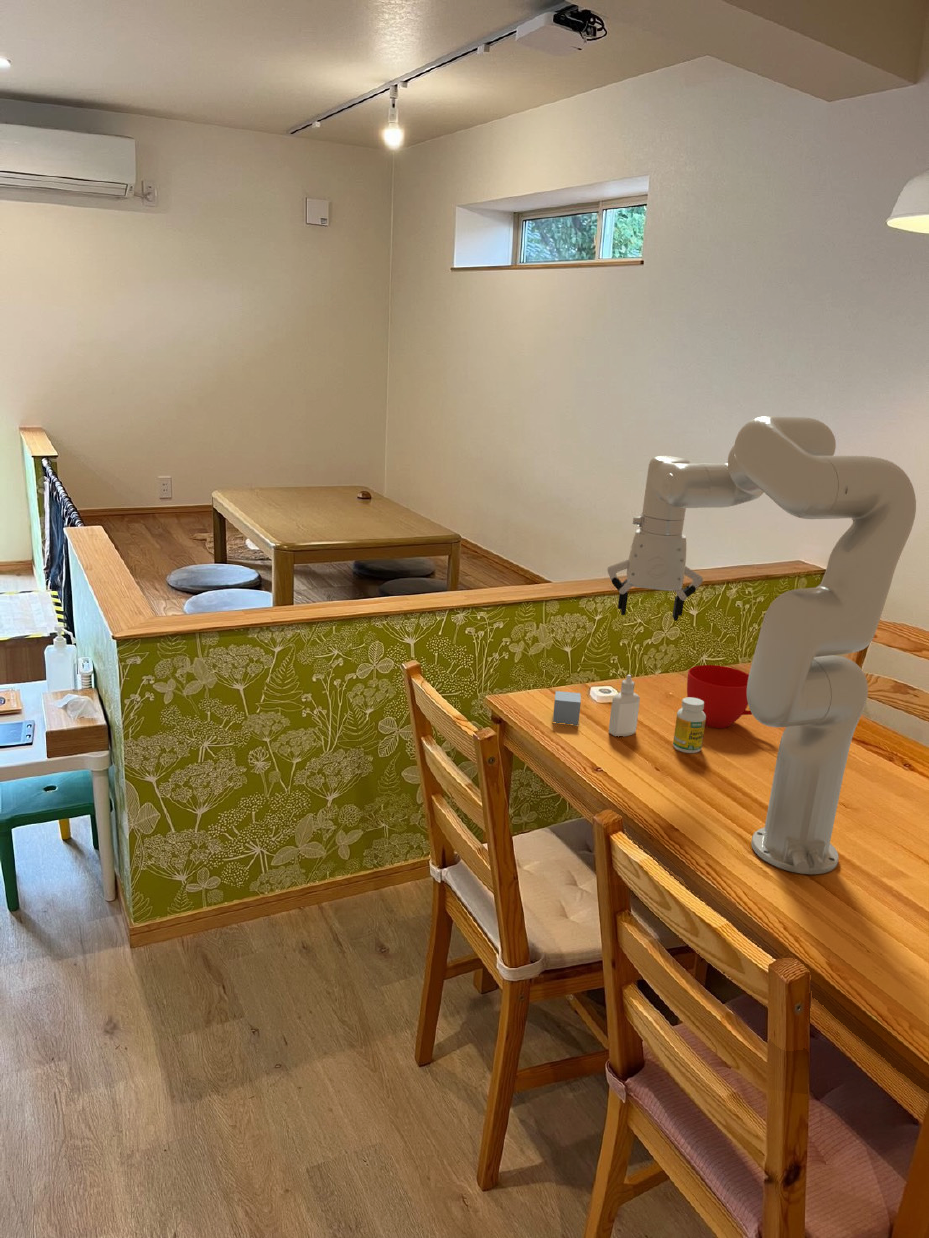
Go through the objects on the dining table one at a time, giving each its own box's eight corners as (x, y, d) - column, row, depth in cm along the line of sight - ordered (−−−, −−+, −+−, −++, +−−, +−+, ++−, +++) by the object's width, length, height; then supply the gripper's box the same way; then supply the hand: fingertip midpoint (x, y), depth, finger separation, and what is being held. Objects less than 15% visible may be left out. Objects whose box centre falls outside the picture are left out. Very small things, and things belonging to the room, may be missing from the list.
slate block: (578, 726, 187) (580, 702, 186) (552, 723, 188) (555, 699, 186) (578, 716, 192) (580, 693, 191) (553, 713, 192) (555, 690, 191)
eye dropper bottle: (638, 738, 183) (646, 680, 180) (609, 736, 183) (616, 678, 179) (634, 729, 187) (641, 672, 184) (605, 727, 187) (612, 670, 184)
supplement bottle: (686, 740, 184) (693, 693, 181) (707, 750, 180) (714, 703, 177) (666, 745, 181) (672, 698, 178) (687, 756, 177) (694, 708, 174)
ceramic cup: (756, 745, 183) (764, 697, 180) (672, 723, 192) (679, 676, 189) (773, 725, 194) (781, 679, 191) (693, 704, 202) (700, 660, 199)
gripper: (614, 525, 169) (602, 616, 174) (712, 535, 167) (698, 627, 172) (613, 517, 176) (601, 605, 181) (707, 526, 174) (693, 614, 179)
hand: (648, 615), depth 177 cm, fingers open, 9 cm apart
